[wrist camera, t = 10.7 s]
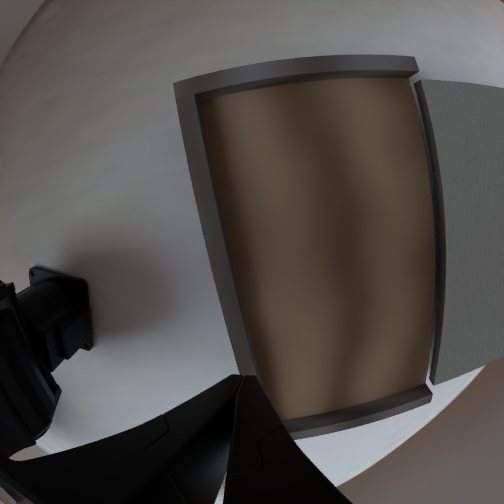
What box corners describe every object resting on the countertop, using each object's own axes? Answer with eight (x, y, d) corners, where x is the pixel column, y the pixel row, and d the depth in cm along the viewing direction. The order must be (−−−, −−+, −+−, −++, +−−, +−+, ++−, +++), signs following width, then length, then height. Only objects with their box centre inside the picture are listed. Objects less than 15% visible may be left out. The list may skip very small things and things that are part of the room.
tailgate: (434, 387, 18) (530, 343, 16) (422, 78, 13) (532, 93, 11) (427, 376, 19) (521, 336, 18) (411, 84, 14) (520, 95, 13)
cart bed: (261, 411, 23) (261, 444, 19) (189, 101, 17) (172, 83, 13) (412, 375, 22) (430, 402, 18) (388, 74, 16) (414, 56, 12)
